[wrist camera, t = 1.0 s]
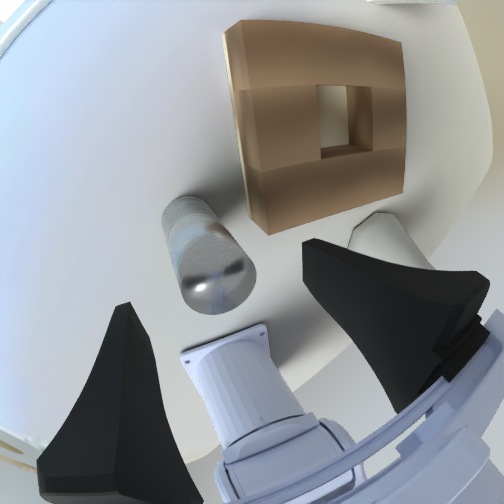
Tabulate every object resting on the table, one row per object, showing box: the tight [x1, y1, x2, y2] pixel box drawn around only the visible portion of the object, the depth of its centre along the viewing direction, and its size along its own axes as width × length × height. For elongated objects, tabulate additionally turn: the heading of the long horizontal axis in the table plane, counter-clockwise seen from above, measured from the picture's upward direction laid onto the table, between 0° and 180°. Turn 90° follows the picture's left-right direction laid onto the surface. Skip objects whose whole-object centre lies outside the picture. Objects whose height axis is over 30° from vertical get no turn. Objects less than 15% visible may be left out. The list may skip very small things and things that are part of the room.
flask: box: [348, 213, 436, 270], centre depth 21 cm, size 7×7×10 cm
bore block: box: [222, 20, 406, 235], centre depth 15 cm, size 12×12×3 cm
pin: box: [162, 196, 256, 315], centre depth 14 cm, size 3×3×7 cm
